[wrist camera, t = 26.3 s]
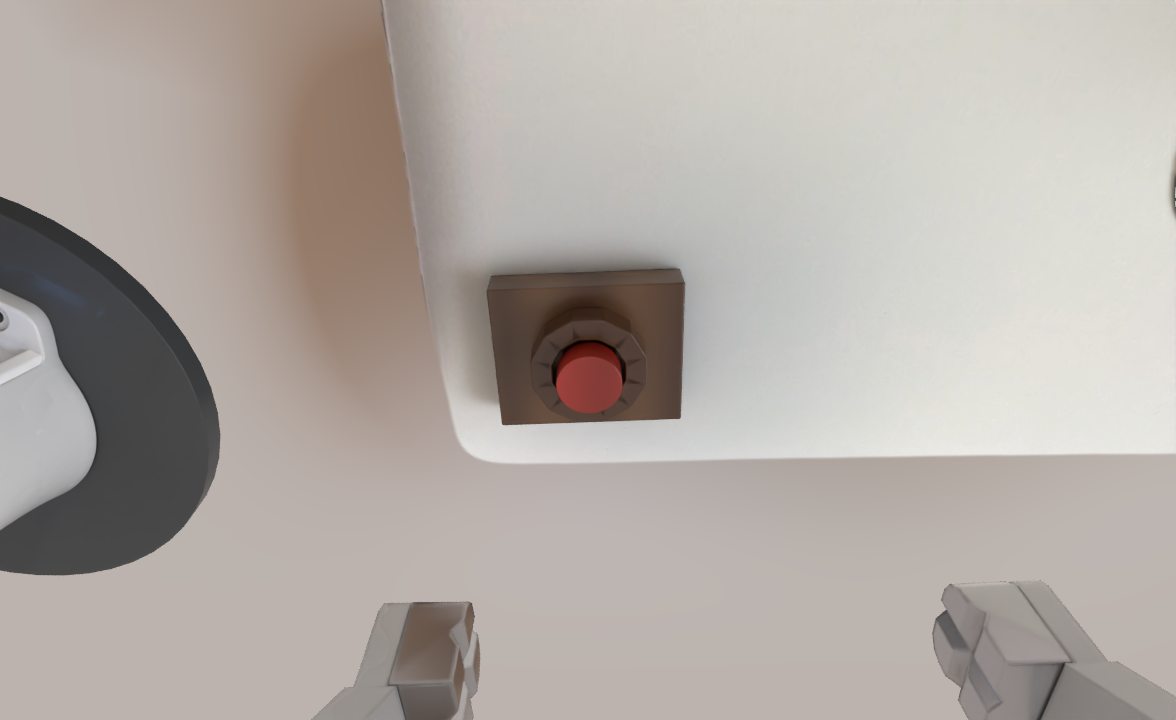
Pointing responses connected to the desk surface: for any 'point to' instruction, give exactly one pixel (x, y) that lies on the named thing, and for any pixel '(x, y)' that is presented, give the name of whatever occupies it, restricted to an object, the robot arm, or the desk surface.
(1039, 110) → the desk surface
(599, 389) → the release button
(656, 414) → the release housing
